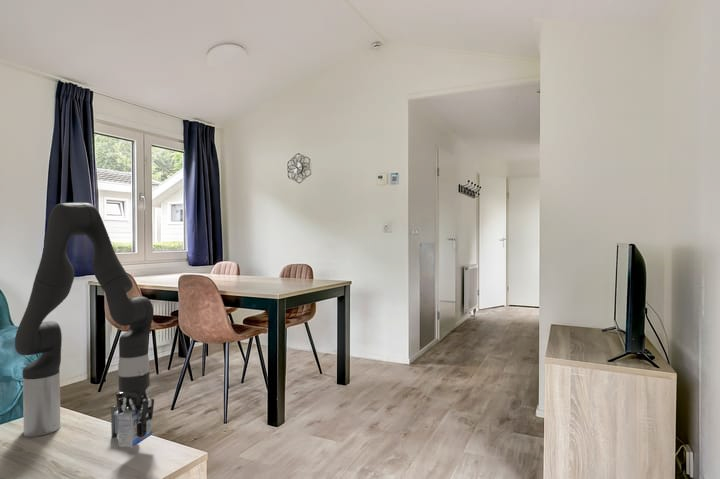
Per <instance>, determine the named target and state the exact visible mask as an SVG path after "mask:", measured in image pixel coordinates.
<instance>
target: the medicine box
mask: <svg viewBox="0 0 720 479" xmlns="http://www.w3.org/2000/svg"><path fill="white" fill-rule="evenodd" d="M140 410H142V408H141V409H138V410H137V411H140ZM147 415H148V413H147ZM140 417H142V413H140ZM152 420H153V418H152V419H151V420H149V421H147V429H146V430H147V432H146V435H144V436H142V437H138V436H137V416H136V415H135V413H133V410H132V409H128V410H126V411H124V412H122V413H120V414H118V436H117V440H118V447H124V448H135V446H137V445H138V444H140V443H141V442H143V441H144V440H146V439H147V438H149V437H150V436H152V435H153V424H152V422H153V421H152Z"/></svg>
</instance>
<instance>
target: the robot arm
mask: <svg viewBox="0 0 720 479" xmlns="http://www.w3.org/2000/svg"><path fill="white" fill-rule="evenodd" d="M103 220H104V219H102V217H101V214H100V212H99V210H98V209H97V208H96V206H95V205H93V204H92V203H90V202H64V203H58V204H55V205H54V206H53V208H52V209H51V211H50V214H49V217H48V222H47V228H46V233H45V240H44V247H43V249H42V254H41V258H40V261H39V265H38V268H37V270H36V273H35V276H34V280H33V281H34V282H33V283H32V284H33V285H32V289H31V292H30V296H29V300H28V303H27V305H26V308H25V311H24V313H23V316H22V318H21V320H20V323H19V325H18V328H17V331H16V334H15V337H14V348H15V351H16V352H17V354H18V355H20V356H33V355H37V354H41V355H40V356H39V357H38V358H37V359H36V360H34V361H33V362H31V363H30V364H27V365H26V366H25V367H24V368H23V370H22V400H23V401H22V402H23V404H22V406H23V407H22V409H23V435H24V436H25V437H31V438H33V437H40V436H46V435H48V434H52V433H54V432H56V431H58V430H59V429H60V428H61V381H60V380H61V379H60V377H61V376H60V368H61V363H62V340H63V338H62V336H63V335H62V329H61V327H60V324H59V323H58V322H56V321H54V320H53V321H52V320H48V321H44V320H45V319H46V318H47V316H48V315H49V314H51V312H53V311H54V310H55V309H56V308H58V307H59V305H61V304H62V303H63V302H64V300H66V298H68V296H69V295H70V293H71V289H72V285H73V283H74V279H75V269H74V267H73V264H72V262H71V261H70V259H69V257H68V254H67V248H68V243H69V241H70V239H71V237H72V236H73V237H74V236H75V237H76V236H86V237H87V238H88V239H89V240H90V242H91V244H92V247H93V257H92V258H93V259H92V270H93V274H94V276H95V278H96V280H97V282H98V284H99V286H100V287H101V289H102V290H103V292H104V294H105V298H106V303H107V306H108V311H109V315H110V316H111V319H112V321H114V322H115V324H117V325H119V326H121V327H122V326H123V327H127V326H129V328H128V330H127V331H126V332H125V333H123V334H121V336H120V337H119V340H118V353H119V354H118V355H119V356H118V365H117V366H118V367H117V368H118V369H117V370H118V371H117V372H118V391H119V392H117V393H115V400H116V405H117V411H118V414H120V413H122V412H124V411H126V410H128V409H132V410H133V413H135V415H136V416H137V436H138V437H142V436H144V435H146V432H147V430H146V429H147V421H149V420H151V419H152V420H153V416H154V415H153V414H154V406H155V405H154V404H155V399H154V397H153V398H149V397H148V396H147V392H146V391H147V389H148V388H150V384H151V383H150V382H151V381H150V380H151V378H150V376H151V375H150V357H149V342H148V340H149V336H150V332H151V328H152V323H153V319H154V312H155V311H154V306H153V303H152V302H151V300H150V299H149V298H148V297H146V296H135V297H130V298H129V296H128V295H127V294H128V293H129V292H130V291H131V289H133V282H132V280H131V278H130V276H129V275H128V273H127V271H126V270H125V268H124V267H123V265H122V264H121V261H120V260H119V258H118V256H117V253H116V251H115V250H114V249H115V248H114V247H113V244H112V242H111V239H110V236H109V233H108V230H107V228H106V226H105V224H104V221H103ZM141 408H142V410H140V411H137V410H138V409H141ZM140 413H142V417H140ZM147 413H148V415H147Z"/></svg>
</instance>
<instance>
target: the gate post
mask: <svg viewBox="0 0 720 479" xmlns="http://www.w3.org/2000/svg"><path fill="white" fill-rule="evenodd" d="M115 411H118V408H117V404H116V405H111V407H110V415H111V416H110V420H111V422H110V423H111V424H110V425H111V427H110V428H111V438H112V439H113V438H114V439H115V438H118V434H116V433H115V415H114V412H115Z"/></svg>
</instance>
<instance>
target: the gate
mask: <svg viewBox="0 0 720 479" xmlns="http://www.w3.org/2000/svg"><path fill="white" fill-rule="evenodd" d="M114 415H115V433H116V434H118V410H117V411H115V412H114Z"/></svg>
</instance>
